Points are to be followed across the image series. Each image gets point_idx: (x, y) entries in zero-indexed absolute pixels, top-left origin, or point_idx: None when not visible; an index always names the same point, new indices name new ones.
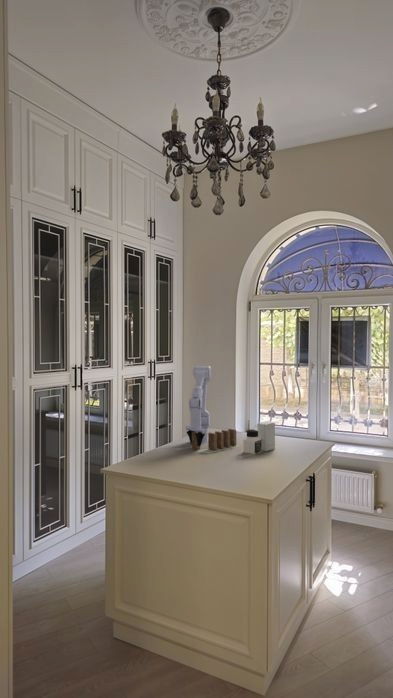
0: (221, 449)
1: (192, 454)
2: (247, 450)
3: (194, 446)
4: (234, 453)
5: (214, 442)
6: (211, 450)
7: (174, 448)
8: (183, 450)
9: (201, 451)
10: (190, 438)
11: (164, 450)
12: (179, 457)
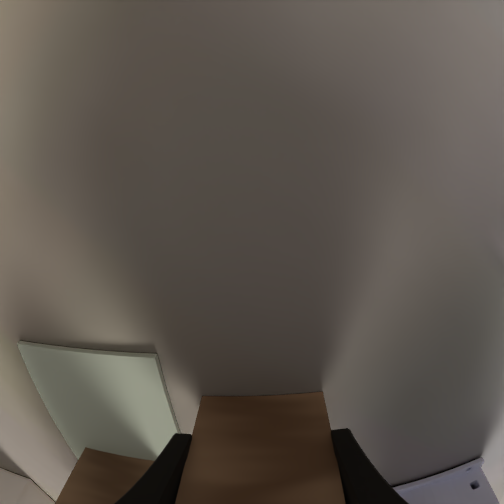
0: None
1: (64, 225)
2: (9, 482)
3: (266, 422)
4: (21, 455)
5: (57, 502)
6: (108, 447)
7: (483, 220)
8: (326, 254)
9: (107, 377)
10: (354, 495)
11: (475, 55)
12: (60, 20)
